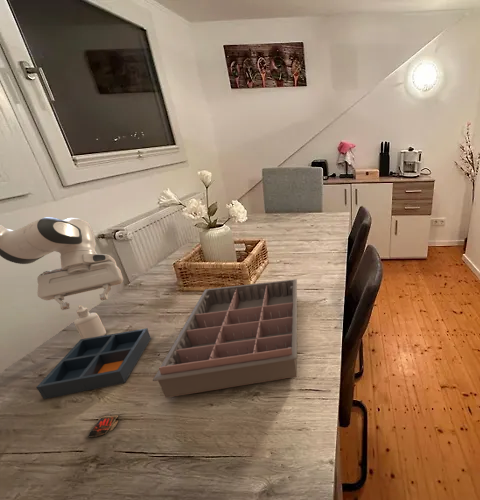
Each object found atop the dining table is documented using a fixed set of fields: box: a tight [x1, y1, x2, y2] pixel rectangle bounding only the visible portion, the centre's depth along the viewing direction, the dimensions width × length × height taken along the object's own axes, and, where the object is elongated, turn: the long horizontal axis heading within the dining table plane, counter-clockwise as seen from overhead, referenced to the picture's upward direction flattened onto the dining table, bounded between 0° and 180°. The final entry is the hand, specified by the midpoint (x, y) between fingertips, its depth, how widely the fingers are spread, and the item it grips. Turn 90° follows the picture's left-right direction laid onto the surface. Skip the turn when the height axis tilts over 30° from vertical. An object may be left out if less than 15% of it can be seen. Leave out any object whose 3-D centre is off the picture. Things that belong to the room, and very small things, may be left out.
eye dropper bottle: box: [73, 304, 107, 339], centre depth 86 cm, size 4×6×12 cm
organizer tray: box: [152, 278, 298, 399], centre depth 84 cm, size 32×40×10 cm
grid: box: [36, 327, 152, 400], centre depth 77 cm, size 17×17×4 cm
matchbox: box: [87, 414, 119, 438], centre depth 61 cm, size 5×5×1 cm
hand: (85, 304), depth 88 cm, fingers open, 8 cm apart
